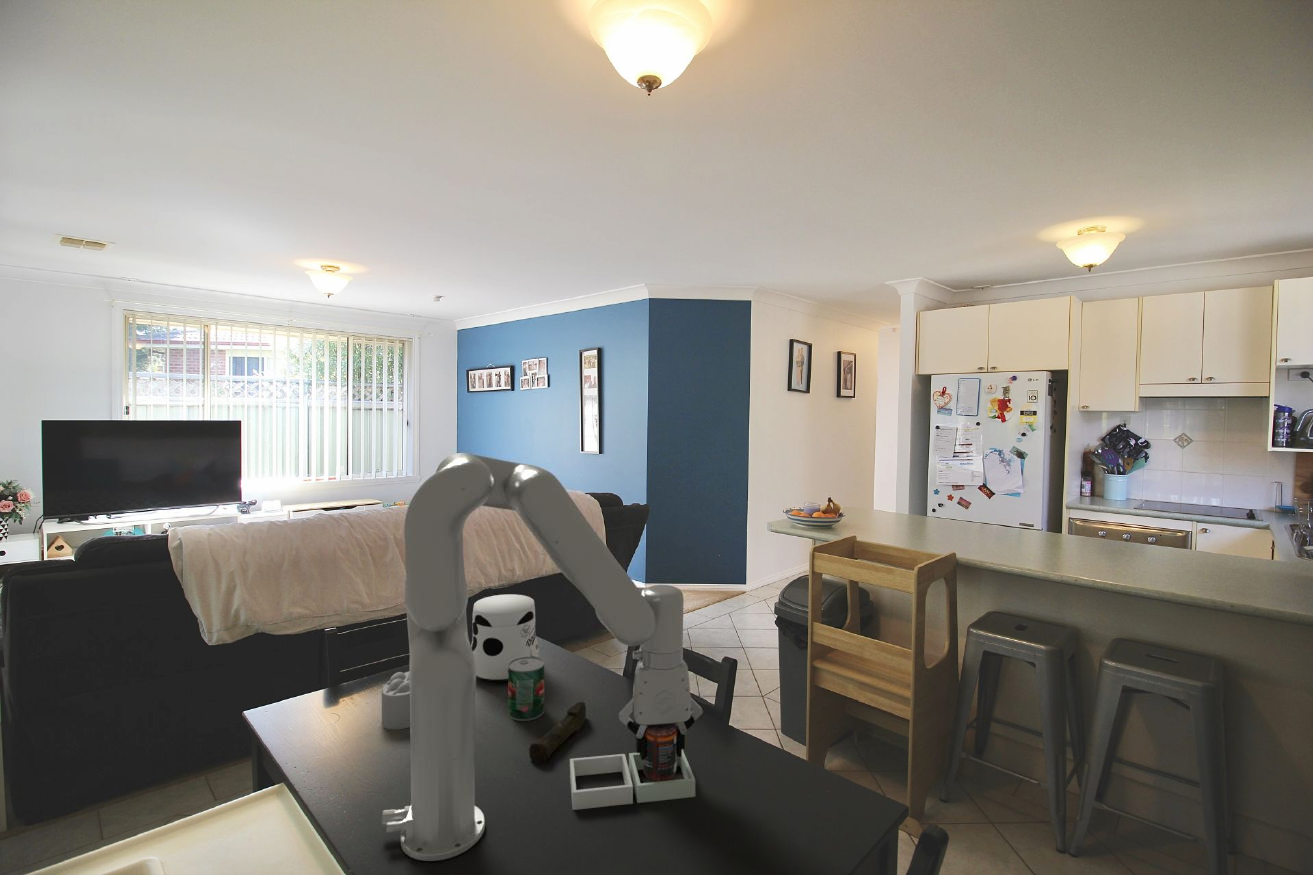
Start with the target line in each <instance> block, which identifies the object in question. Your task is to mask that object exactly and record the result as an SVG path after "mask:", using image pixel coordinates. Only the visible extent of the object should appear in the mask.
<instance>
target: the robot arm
mask: <svg viewBox="0 0 1313 875" xmlns="http://www.w3.org/2000/svg"><path fill="white" fill-rule="evenodd" d="M480 507H488V508H494V509H500V510H508V511H509V510H510V511H515V512H516V514H517V515H518V516H519V518H520V519H521V521H522V522H523V523H524V524H525V526H526V527H527V528H528V530H529V531H530V532H531V534H532V535H533V536H534V537H535V539H536V540H537V542H538V543H539V544H540V545H541V548H543V550H544V551H545V553H546V554H547V555H548V557H549V558H550V559H551V561H552V562H553V563H554V565H556V567H557V568H558V569H559V571H560V572H561V573H562V575H563V576H564V577H565V578H566V579H567V580H568V581H569V582H570V583H571V584H572V585H574V586H575V587H576V589H578V591H580V592H581V594H582V595H583V596H584V598H586V600H587V601H588V602H589V604H590V605H591V606H592V607H593V608H594V610H595V614H596V617H597V619H598V620H599V621H600V623H601V624H602V625H603V626H604V627H605V628H606V630H607V631H609V633H611V634H612V636H613V637H614V638H615V639H616V640H617V641H618V642H619V643H620V644H622V645H624V646H626V647H637V646H639V648H638V649H637V650H633V651H632V659H633V660H639V661H637V664H636V667H635V672H634V678H633V688H632V698H631V699H630V701H628V702H627V704H626V705H625V706H624V707H623V708H622V709H621V710H620V711H619V712H618V714H617V716H618V720H619V721H620V722H621V723H622V724H623V725H625V726H626V728H628V729H629V731H631V732H632V733H633V734H634V735H635V753H640V757H641V760H645V759H646V738H645V735H644V732H645V729H646V727H647V725H659V724H671V723H675V724H676V728H677V745H676V746H677V747H676V754H677V756H678V757H682V749H683V750H685V749H686V748H685V747H686V746H685V744H686V735H687V733H688V730H689V729H690V728H691V727H692V726H693V725H694V723H695V722H696V720H698V718H700V716H702V715H703V713H704V711H703V708H702V707H701V706H700V705H699V704H698V703H697V702H696V701H695V700H694V699H693V698H692V696H691V686H690V685H691V684H690V675H689V667H688V664H687V663H686V662H685V660H684V658H683V653H684V652H683V651H684V647H683V646H684V645H683V644H684V637H683V636H684V602H685V601H684V594H683V592H682V590H681V589H680V588H679V587H676V586H674V585H670V584H657V585H651V586H647V587H639V586H638V587H637V585H636V584H635V582H634V580H632V579H631V577H630V575H629V574H628V573H627V572H626V571H625V569H624V568H623V567H622V566H621V564H620V563H619V562H618V560H617V559H616V558H615V556H614V554H613V553H612V552H611V551H610V549H609V547H607V545H606V544H605V542H604V540H602V539H601V537H600V536H599V535H598V533H597V532H596V530H595V529H594V528H593V527H592V525H591V524H590V522H589V521H588V519H587V518H586V517H585V516H584V514H583V513H582V510H580V508H579V507H578V506H577V503H576V502H575V501H574V499H573V498H572V497H571V495H569V492H568V491H567V490H566V489H565V487H564V486H563V485H562V483H561V481H560V480H559V479H558V478H557V477H556V476H555V475H554V474H553V473H552V472H550V471H549V470H547V469H544V468H542V467H539V466H536V465H532V464H526V463H520V462H515V461H514V462H513V461H510V460H509V461H508V460H503V459H497V458H495V457H487V456H484V455H483V456H482V455H478V454H473V453H469V452H459V453H457V452H456V453H453V454H451V455H449V456H447V457H446V458H444V459H443V460H442V461H441V462H440V463H439V465H438V466H437V469H436V470H435V473H434V474H433V475H431V476H429V477H428V479H426V480H425V481H424V482H423V483H422V484H421V485H420V487H419V488H418V489H417V491H416V492H415V493H414V495H413V497H412V498H411V500H410V502H409V505H408V506H407V511H406V514H405V518H404V532H403V533H404V561H405V562H404V563H405V576H406V577H405V578H406V579H405V582H404V583H405V584H404V600H405V601H404V603H405V609H406V619H407V620H406V621H407V622H406V623H407V624H406V625H407V633H408V634H407V635H408V645H409V646H408V647H409V648H408V649H409V650H408V651H409V662H408V664H409V665H408V666H409V671H410V677H409V683H410V727H409V728H410V729H409V732H410V733H409V734H410V738H409V739H410V741H409V743H410V805H405V806H404V808H400V809H398V808H397V809H396V808H394V809H384V810H382V816H381V824H382V825H386V830H385V831H386V833H391V832H399V831H401V832H400V847H401V850H402V851H403V852H404V853H405V855H407V857H410V858H412V859H415V860H418V861H423V862H435V861H443V860H444V861H445V860H448V859H451V858H453V857H456V856H459V855H460V854H462V853H465V852H466V851H468V850H469V849H471V848H472V847H473V846H474V845H475V844H476V843H478V841H479V840H480V839H481V838H482V836H483V834H484V832H485V828H486V827H485V826H486V822H485V821H486V818H485V814H484V813H483V811H482V810H481V809H480V808H479V807H478V806H476V804H475V802H476V801H475V796H476V795H475V791H476V790H475V785H476V784H475V783H476V782H475V781H476V780H475V778H476V777H475V776H476V775H475V774H476V772H475V769H476V768H475V767H476V766H475V760H476V759H475V758H476V757H475V751H476V750H475V705H476V704H475V703H476V702H475V701H476V687H477V677H476V665H475V659H474V655H473V651H472V648H471V643H470V642H471V641H470V639H469V634H468V622H467V607H468V606H467V605H468V600H469V588H468V584H467V580H466V570H465V562H464V558H465V557H464V527H465V523H466V521H467V519H468V518H469V516H471V514H472V513H473V512H474V511H476V510H478V509H479V508H480ZM632 713H633V716H634V719H633V718H632V717H630V715H631V714H632Z"/></svg>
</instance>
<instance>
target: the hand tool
mask: <svg viewBox="0 0 1313 875" xmlns="http://www.w3.org/2000/svg"><path fill="white" fill-rule="evenodd" d="M586 717H587V708H586V704H585V702H584V701H580V702H577V703H575V704H574V705H573V706H571V707H569V708H568V710H567V711H566V715H565V716H564V717H563V718H562V720H560V721H559V722H558V723H557V724H555V726H553V727H552V728H551V729H550V730H549V731H548V732H546V733H545V735H543V736H542V737H541V738H539V740H538V739H537V740H538V741H536V742H534V743H533V742H532V743H531V744H530V746H529V750H528V751H529V754H528V755H529V758H530V759H531V761H532V762H535V763H537V764H545V763H547V760H549V759H550V758H551V755H552V753H554V752H555V751H556V750H557V748H559V746H561V745H562V744H564V742H565V741H566V740H567V739H568V738H569V737H570V736H571V735H572V734H573V733H574V732H578V731H579V730H581V728H582V727H583V725H584V722H585V720H586Z"/></svg>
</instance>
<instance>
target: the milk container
mask: <svg viewBox="0 0 1313 875" xmlns="http://www.w3.org/2000/svg"><path fill="white" fill-rule="evenodd" d="M471 625H472V626H471V627H472V640H471V643H470V645H471V648H472V651H473V655H474V659H475V665H476V678H478V679H481V680H483V681H489V682H496V683H497V682H508V664H509V663H510V662H511V661H512V660H514V659H517V658H521V657H537V658H540V656H539V655H540V650H539V644H538V639H537V635H536V607H535V600H534V599H533V598H531V596H527V595H523V594H510V593H509V594H506V593H505V594H498V595H492V596H487V597H483V598H481V599H478V600H477V601H476V602H474V604H473V608H472V623H471Z"/></svg>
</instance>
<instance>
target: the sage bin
mask: <svg viewBox="0 0 1313 875" xmlns="http://www.w3.org/2000/svg"><path fill="white" fill-rule="evenodd" d="M628 756H629V757H628V769H629V773H630V777H631V781H632V785H633V792H634V795H635V799H636V803H637V804H640V803H649V802H650V803H651V802H660V801H666V800H667V801H668V800H677V799H687V798H694V797H696V778H695V775H694V773H693V771H692V769H691V766H690V764H689V762H688V760H687V756H686V755H685V752H684V749H682V757H678V756H677V754H676V767H679V768H680V770H681V771H680V772H681V773H682V776H683V778H681V779H679V778H678V779H673V780H671V779H670V780H668V781H660V782H657V781H651V782H643V783H641V781H640V780H641V779H640V777H639V773H638V771H639V770H640V771H641V770H643V771H644V760H641V757H640V753H637V752H629V753H628Z"/></svg>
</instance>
